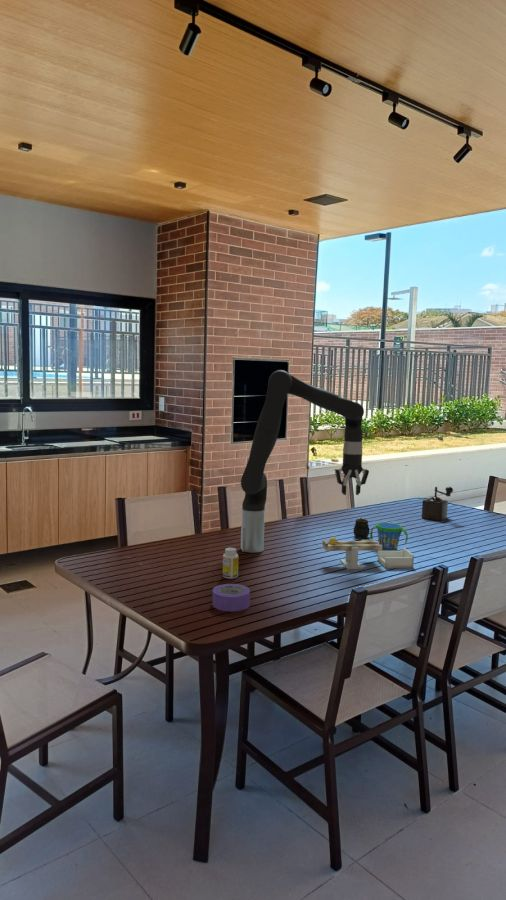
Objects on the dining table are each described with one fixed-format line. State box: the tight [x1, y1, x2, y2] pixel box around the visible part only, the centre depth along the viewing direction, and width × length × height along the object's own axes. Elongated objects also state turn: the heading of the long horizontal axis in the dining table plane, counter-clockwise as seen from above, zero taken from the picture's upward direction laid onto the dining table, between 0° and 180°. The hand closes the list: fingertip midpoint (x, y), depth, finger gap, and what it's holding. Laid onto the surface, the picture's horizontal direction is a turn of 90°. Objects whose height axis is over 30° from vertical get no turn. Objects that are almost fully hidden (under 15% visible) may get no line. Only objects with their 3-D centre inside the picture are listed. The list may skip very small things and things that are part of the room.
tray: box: [377, 547, 415, 569], centre depth 252 cm, size 11×10×5 cm
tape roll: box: [212, 583, 251, 612], centre depth 203 cm, size 12×12×5 cm
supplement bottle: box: [222, 547, 239, 580], centre depth 231 cm, size 6×6×10 cm
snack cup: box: [369, 522, 409, 551], centre depth 273 cm, size 16×10×10 cm
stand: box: [339, 547, 364, 570], centre depth 249 cm, size 6×11×8 cm, turn 6°
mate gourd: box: [353, 517, 371, 539], centre depth 293 cm, size 7×8×10 cm
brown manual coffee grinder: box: [421, 486, 454, 522], centre depth 335 cm, size 16×11×18 cm
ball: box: [328, 537, 338, 545], centre depth 248 cm, size 3×3×3 cm
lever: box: [321, 539, 383, 552], centre depth 252 cm, size 22×12×3 cm, turn 97°
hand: (350, 494), depth 259 cm, fingers open, 4 cm apart
